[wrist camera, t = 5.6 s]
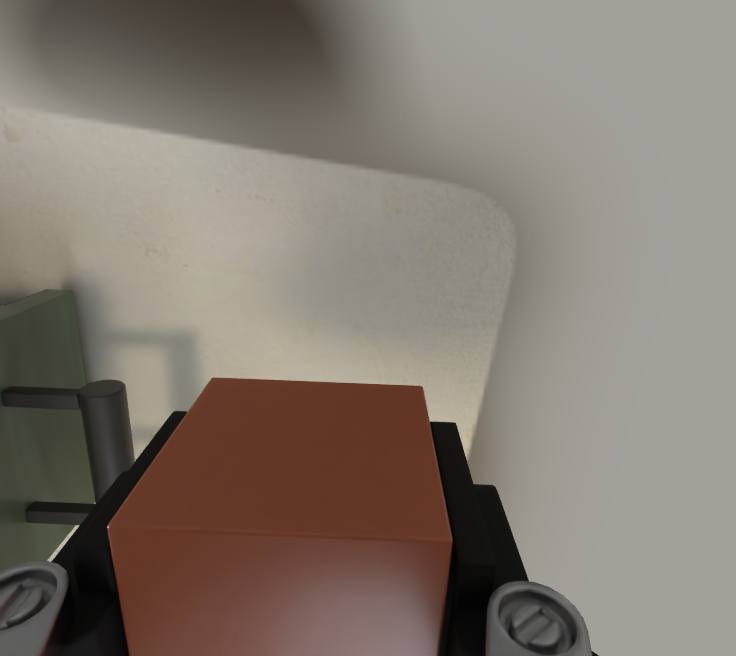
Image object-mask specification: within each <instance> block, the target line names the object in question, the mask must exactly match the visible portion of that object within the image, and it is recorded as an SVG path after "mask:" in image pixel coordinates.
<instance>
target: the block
mask: <svg viewBox="0 0 736 656" xmlns="http://www.w3.org/2000/svg"><path fill="white" fill-rule="evenodd" d="M107 529H108V535H109V541H110V547H111V553H112V559H113V565H114V571H115V576H116V582H117V588H118V594H119V600H120V606H121V612H122V618H123V624H124V630H125V636H126V641H127V647H128V653H129V656H439V652H440V643H441V635H442V626H443V618H444V610H445V601H446V593H447V584H448V576H449V568H450V559H451V551H452V542H453V540H452V535H451V529H450V524H449V519H448V514H447V509H446V504H445V499H444V493H443V488H442V483H441V478H440V473H439V468H438V463H437V457H436V452H435V447H434V442H433V437H432V432H431V427H430V422H429V416H428V411H427V406H426V401H425V396H424V391H423V387H422V386H407V385H383V384H358V383H334V382H309V381H285V380H261V379H236V378H211V380H210V381H209V383H208V384H207V385H206V387H205V388H204V390H203V391H202V393H201V394H200V395H199V397H198V398H197V400H196V401H195V402H194V404H193V405H192V407H191V408H190V410H189V411H188V412H187V414H186V415H185V417H184V418H183V419H182V421H181V422H180V424H179V425H178V426H177V428H176V429H175V431H174V432H173V434H172V435H171V436H170V438H169V439H168V441H167V442H166V443H165V445H164V446H163V448H162V449H161V451H160V452H159V453H158V455H157V456H156V458H155V459H154V460H153V462H152V463H151V465H150V466H149V468H148V469H147V470H146V472H145V473H144V475H143V476H142V477H141V479H140V480H139V482H138V483H137V484H136V486H135V487H134V489H133V490H132V492H131V493H130V494H129V496H128V497H127V499H126V500H125V501H124V503H123V504H122V506H121V507H120V509H119V510H118V511H117V513H116V514H115V516H114V517H113V518H112V520H111V521H110V523H109V524H108V528H107Z"/></svg>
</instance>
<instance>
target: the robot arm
mask: <svg viewBox="0 0 736 656" xmlns="http://www.w3.org/2000/svg"><path fill="white" fill-rule="evenodd" d="M186 414H187V412H184V411H174V412H173V413H172V414H171V415H170V417H169V418H168V419H167V421H166V422H165V423H164V424H163V426H162V427H161V428H160V430H159V431H158V432H157V434H156V435H155V436H154V438H153V439H152V440H151V441H150V443H149V444H148V445H147V447H146V448H145V449H144V451H143V452H142V453H141V455H140V456H139V457H138V459H137V460H136V461H135V462H134V464H133V465H132V466H131V468H130V469H129V470H126V471H123V472H122V473H121V474H120V475H119V476H118V477H117V478H116V480H115V481H114V482H113V484H112V485H111V486H110V487H109V489H108V490H107V491H106V493H105V494H104V495H103V496H102V498H101V499H100V500H99V502H98V503H97V504H96V505H95V507H94V508H93V509H92V511H91V512H90V513H89V514H88V516H87V517H86V518H85V520H84V521H83V522H82V523H81V525H80V526H79V527H78V529H77V530H76V531H75V532H74V534H73V535H72V536H71V537H70V539H69V540H68V541H67V543H66V544H65V545H64V546H63V548H62V549H61V550H60V552H59V553H58V554H57V555H56V557H55V558H54V559H53V561H52V562H49V561H31V562H27V563H22V564H18V565H14V566H12V567H9V568H7V569H4V570H2V571H0V656H129V653H128V647H127V641H126V636H125V630H124V624H123V618H122V612H121V606H120V600H119V594H118V588H117V582H116V576H115V571H114V565H113V559H112V553H111V547H110V541H109V535H108V529H107V528H108V524H109V523H110V521H111V520H112V518H113V517H114V516H115V514H116V513H117V511H118V510H119V509H120V507H121V506H122V504H123V503H124V501H125V500H126V499H127V497H128V496H129V494H130V493H131V492H132V490H133V489H134V487H135V486H136V484H137V483H138V482H139V480H140V479H141V477H142V476H143V475H144V473H145V472H146V470H147V469H148V468H149V466H150V465H151V463H152V462H153V460H154V459H155V458H156V456H157V455H158V453H159V452H160V451H161V449H162V448H163V446H164V445H165V443H166V442H167V441H168V439H169V438H170V436H171V435H172V434H173V432H174V431H175V429H176V428H177V426H178V425H179V424H180V422H181V421H182V419H183V418H184V417H185V415H186ZM430 427H431V432H432V437H433V442H434V447H435V452H436V457H437V463H438V468H439V473H440V478H441V483H442V488H443V493H444V499H445V504H446V509H447V514H448V519H449V524H450V529H451V535H452V540H453V542H452V551H451V559H450V568H449V576H448V584H447V593H446V601H445V610H444V618H443V626H442V635H441V643H440V652H439V656H598V655H597V654H595V653H594V652H593V651H591V646H590V641H589V635H588V630H587V628H586V625H585V622H584V619H583V617H582V616H581V614H580V613H579V611H578V610H577V609H576V607H575V606H574V605H573V604H572V603H571V602H570V601H569V600H568V599H566V598H565V597H564V596H563V595H561V594H560V593H558V592H557V591H555V590H553V589H551V588H550V587H547V586H544V585H541V584H538V583H535V582H529V580H528V577H527V574H526V572H525V569H524V566H523V563H522V560H521V557H520V555H519V552H518V549H517V546H516V543H515V541H514V537H513V534H512V532H511V529H510V526H509V523H508V520H507V517H506V515H505V512H504V509H503V506H502V503H501V500H500V497H499V494H498V492H497V490H496V487H495V486H493V485H478V484H473V481H472V478H471V474H470V471H469V467H468V464H467V460H466V457H465V453H464V450H463V446H462V443H461V439H460V436H459V432H458V429H457V425H456V423H452V422H430Z"/></svg>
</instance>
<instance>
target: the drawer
mask: <svg viewBox="0 0 736 656" xmlns="http://www.w3.org/2000/svg"><path fill="white" fill-rule="evenodd" d="M134 462H135V458H134V450H133V442H132V434H131V426H130V418H129V410H128V402H127V394H126V386H125V384H124V383H123V382H121V381H117V380H102V381H96V382H93V383H90V384H86V377H85V371H84V364H83V357H82V351H81V344H80V338H79V331H78V324H77V318H76V311H75V305H74V298H73V292H72V291H71V290H48V289H46V290H43V291H41V292H38V293H36V294H33V295H31V296H28V297H26V298H23V299H20V300H18V301H15V302H13V303H10V304H8V305H0V571H2V570H4V569H7V568H9V567H12V566H14V565H18V564H22V563H27V562H31V561H47V560H48V559H49V557H50V556H51V555H52V554H53V552H54V551H55V550H56V549H57V548H58V546H59V545H60V544H61V543H62V542H63V540H64V539H65V538H66V537H67V535H68V534H69V533H70V532H71V531H72V529H73V528H74V527H75V526H76V525H81V523H82V522H83V521H84V520H85V518H86V517H87V516H88V514H89V513H90V512H91V511H92V509H93V508H94V507H95V505H96V504H97V503H98V502H99V500H100V499H101V498H102V496H103V495H104V494H105V493H106V491H107V490H108V489H109V487H110V486H111V485H112V484H113V482H114V481H115V480H116V478H117V477H118V476H119V475H120V474H121V473H122V472H123V471H126V470H129V469H130V468H131V466H132V465H133V464H134ZM95 502H96V504H94V503H95Z"/></svg>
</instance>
